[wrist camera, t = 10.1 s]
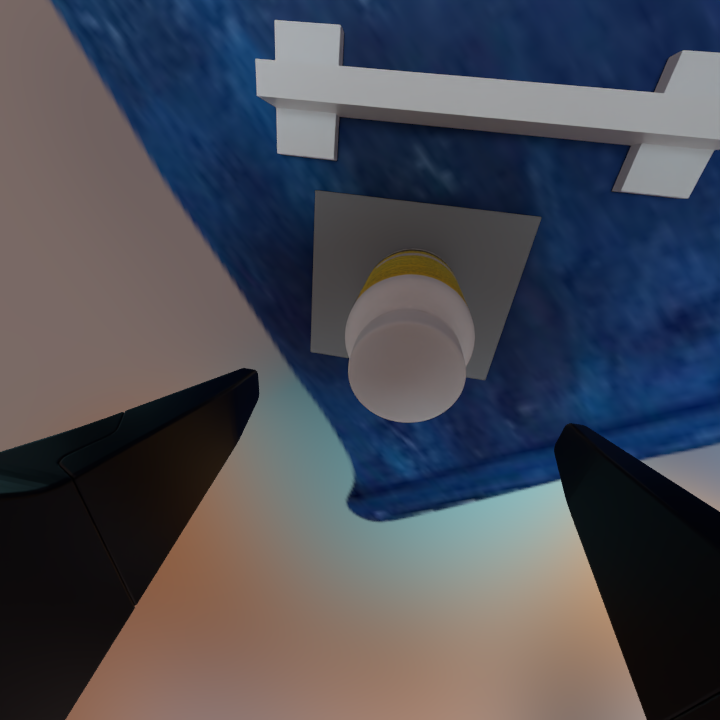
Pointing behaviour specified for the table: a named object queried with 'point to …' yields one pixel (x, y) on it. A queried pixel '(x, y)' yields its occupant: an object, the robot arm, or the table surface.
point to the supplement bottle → (409, 338)
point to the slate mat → (416, 231)
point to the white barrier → (497, 107)
